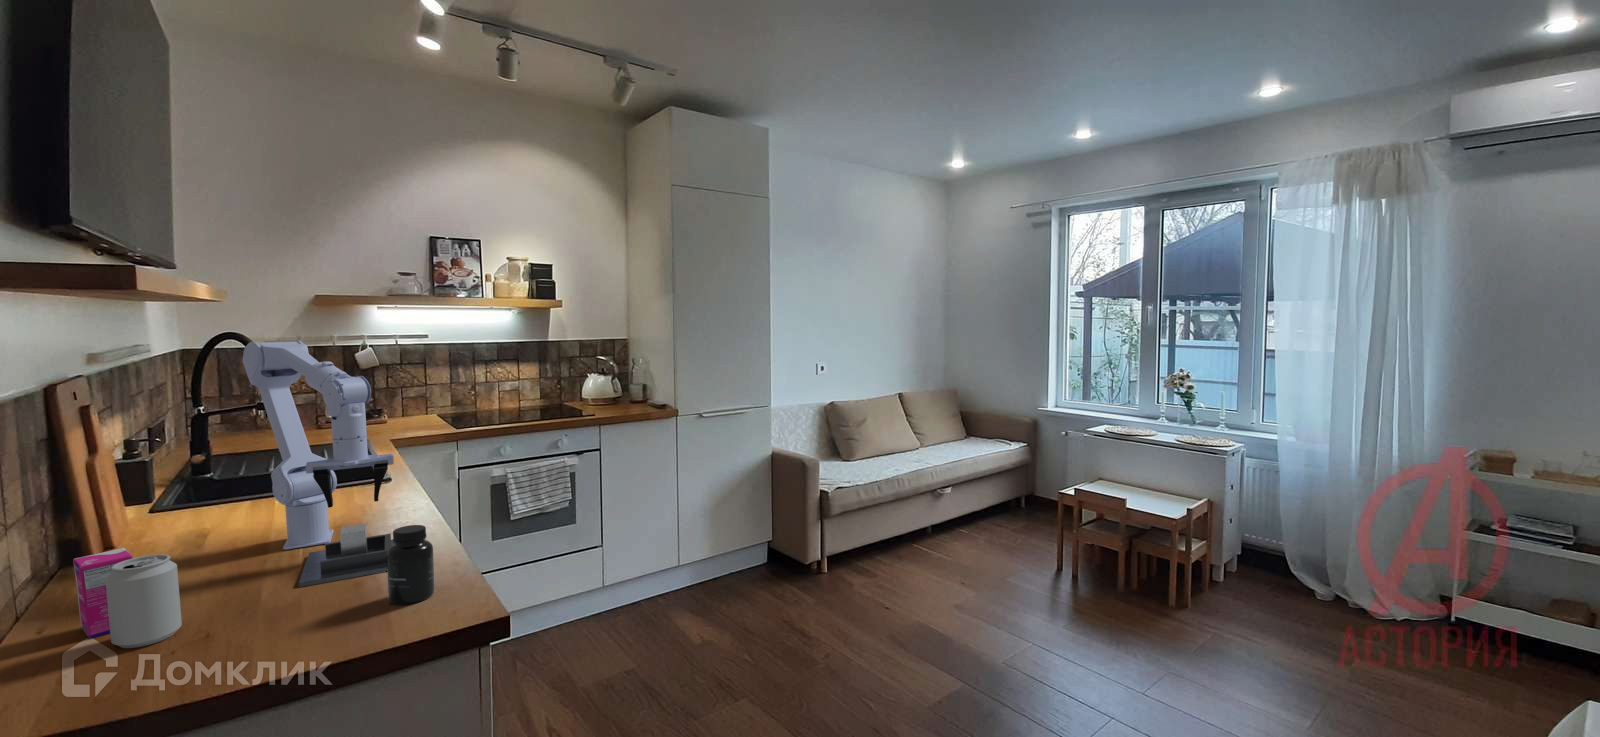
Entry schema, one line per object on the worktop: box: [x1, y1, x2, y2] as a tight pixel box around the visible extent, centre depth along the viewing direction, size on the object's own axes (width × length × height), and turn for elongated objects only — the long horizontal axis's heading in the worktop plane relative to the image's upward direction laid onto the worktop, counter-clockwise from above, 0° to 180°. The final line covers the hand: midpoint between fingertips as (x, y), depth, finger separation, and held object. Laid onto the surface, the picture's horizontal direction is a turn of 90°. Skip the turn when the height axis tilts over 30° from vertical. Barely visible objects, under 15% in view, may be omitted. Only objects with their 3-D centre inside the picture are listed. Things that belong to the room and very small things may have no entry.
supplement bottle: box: [386, 524, 435, 606], centre depth 111 cm, size 7×7×12 cm
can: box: [105, 553, 183, 649], centre depth 97 cm, size 8×8×12 cm
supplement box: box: [72, 547, 134, 639], centre depth 100 cm, size 6×6×12 cm
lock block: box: [339, 523, 368, 557], centre depth 127 cm, size 5×4×6 cm
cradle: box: [298, 533, 395, 588], centre depth 127 cm, size 18×16×3 cm
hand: (353, 503), depth 132 cm, fingers open, 7 cm apart
